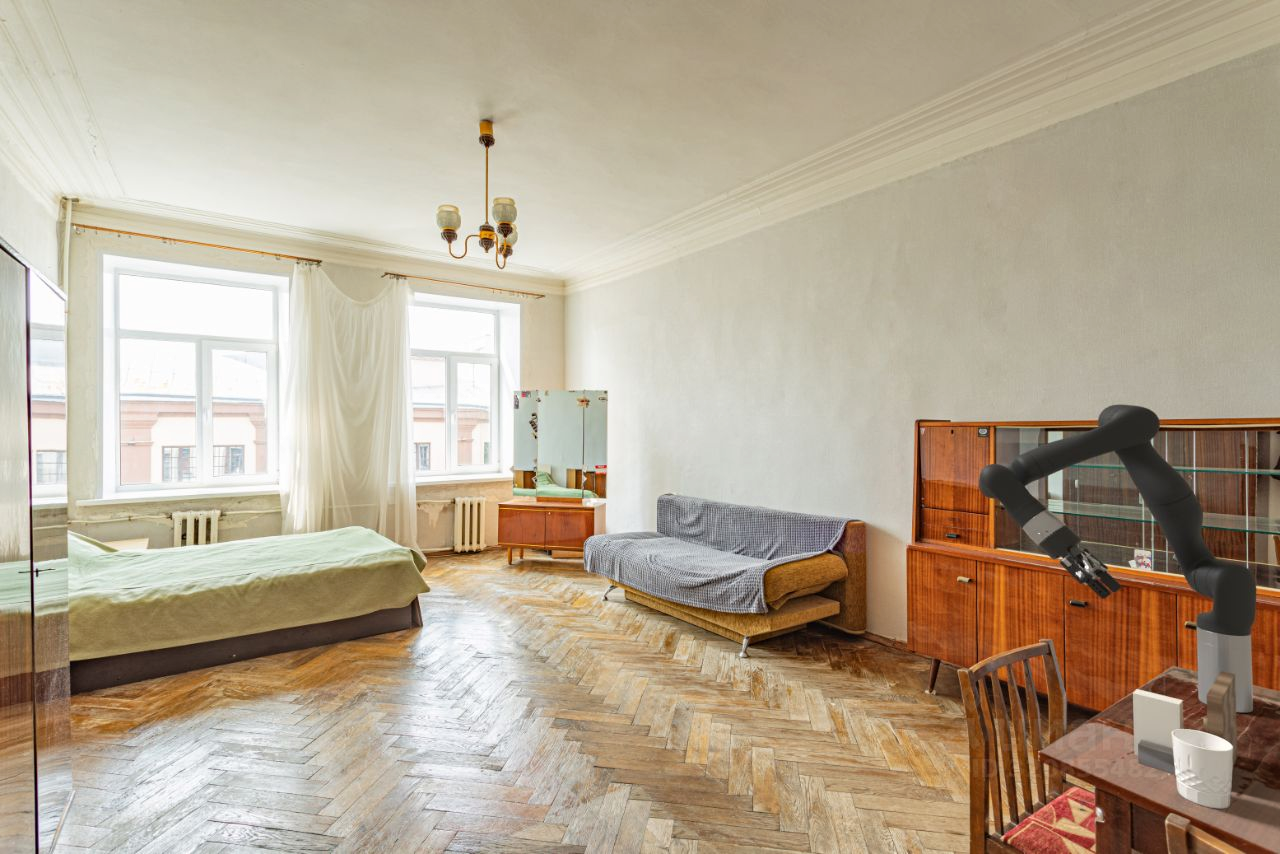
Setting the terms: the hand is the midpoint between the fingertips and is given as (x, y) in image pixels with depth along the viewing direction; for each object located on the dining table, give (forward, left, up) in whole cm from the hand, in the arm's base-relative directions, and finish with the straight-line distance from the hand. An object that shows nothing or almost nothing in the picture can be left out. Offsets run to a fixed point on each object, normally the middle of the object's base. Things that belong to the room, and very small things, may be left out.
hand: (1113, 593), depth 134 cm
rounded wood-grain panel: (+7, +13, -29) cm, 32 cm away
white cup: (+21, +17, -29) cm, 39 cm away
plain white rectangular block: (+10, +9, -29) cm, 32 cm away
